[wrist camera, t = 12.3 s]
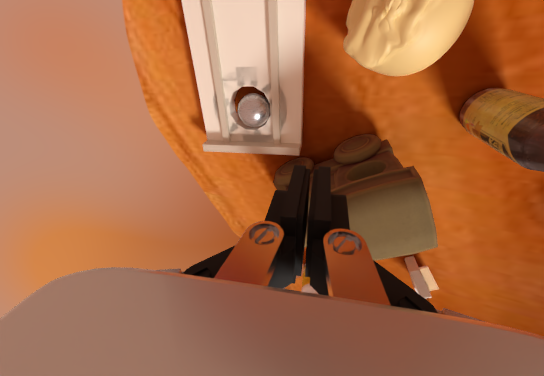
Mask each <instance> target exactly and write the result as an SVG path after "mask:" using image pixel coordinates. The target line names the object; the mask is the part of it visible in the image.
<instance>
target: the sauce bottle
mask: <svg viewBox="0 0 544 376" xmlns="http://www.w3.org/2000/svg"><path fill="white" fill-rule="evenodd" d="M459 117H460V123H461V124H462V126H463V127H464V128H465V129H466V130H467V131H468V132H469V133H470V134H472V135H473V136H475V137H477V138H478V139H480V140H481V141H483V142H484V143H486V144H487V145H489V146H490V147H492V148H494V149H495V150H497V151H498V152H500V153H502V154H503V155H505V156H506V157H508V158H510V159H511V160H513V161H514V162H516V163H518V164H519V165H521V166H523V167H524V168H527V169H530V170H537V171H543V172H544V99H543V98H539V97H535V96H532V95H528V94H524V93H520V92H516V91H513V90H509V89H502V88H489V89H486V90H483V91H480V92H478V93H476V94H474V95H473V96H471V97H470V98H469V99H468V100H467V101H466V102H465V103H464V105H463V107H462V109H461V111H460V115H459Z"/></svg>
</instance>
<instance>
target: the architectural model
mask: <svg viewBox="0 0 544 376" xmlns="http://www.w3.org/2000/svg"><path fill="white" fill-rule="evenodd" d="M405 262H406V265H407V268H408V271H409V274H410V277H411V280H412V283H413V286H414V288H415V290H416V292H417V293H418V294H419V295H421V296H422V297H423V298H427V299H428V298H431V295H430V292H431V290H436V289H439V288H438V286H437V284H436V282H435V280H434V278H433V276H432V274H431V272H430V270H429V268H428V266H423V267H418V265H417V262H416V260H415V258H414V256H410V257H406V258H405ZM429 291H430V292H429ZM428 301H429V300H428Z"/></svg>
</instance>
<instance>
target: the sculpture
mask: <svg viewBox="0 0 544 376" xmlns="http://www.w3.org/2000/svg"><path fill="white" fill-rule="evenodd" d="M473 4H474V0H352V3H351V7H350V9H349V11H348V16H347V21H346V26H347V28H348V35H347V36H346V37H345V39H344V44H343V47H344V50H345V52H346V53H348V54H349V55H350V56H351V57H352V58H354V59H355V60H356V61H357V62H358V63H359V64H360V65H362V66H363V67H365V68H367V69H369V70H372V71H375V72H377V73H380V74H384V75H388V76H405V75H410V74H414V73H416V72H419V71H421V70H423V69H425V68H427V67H428V66H430V65H432V64H433V63H434V62H436V61H437V60H438V59H439V58H441V57H442V56H443V55H444V54H445V53H446V52H447V51H448V50H449V49H450V48H451V46H452V45H453V44H454V43H455V41H456V40H457V39H458V37H459V36H460V34H461V33H462V31H463V29H464V27H465V26H466V24H467V21H468V19H469V17H470V14H471V11H472V8H473Z"/></svg>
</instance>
